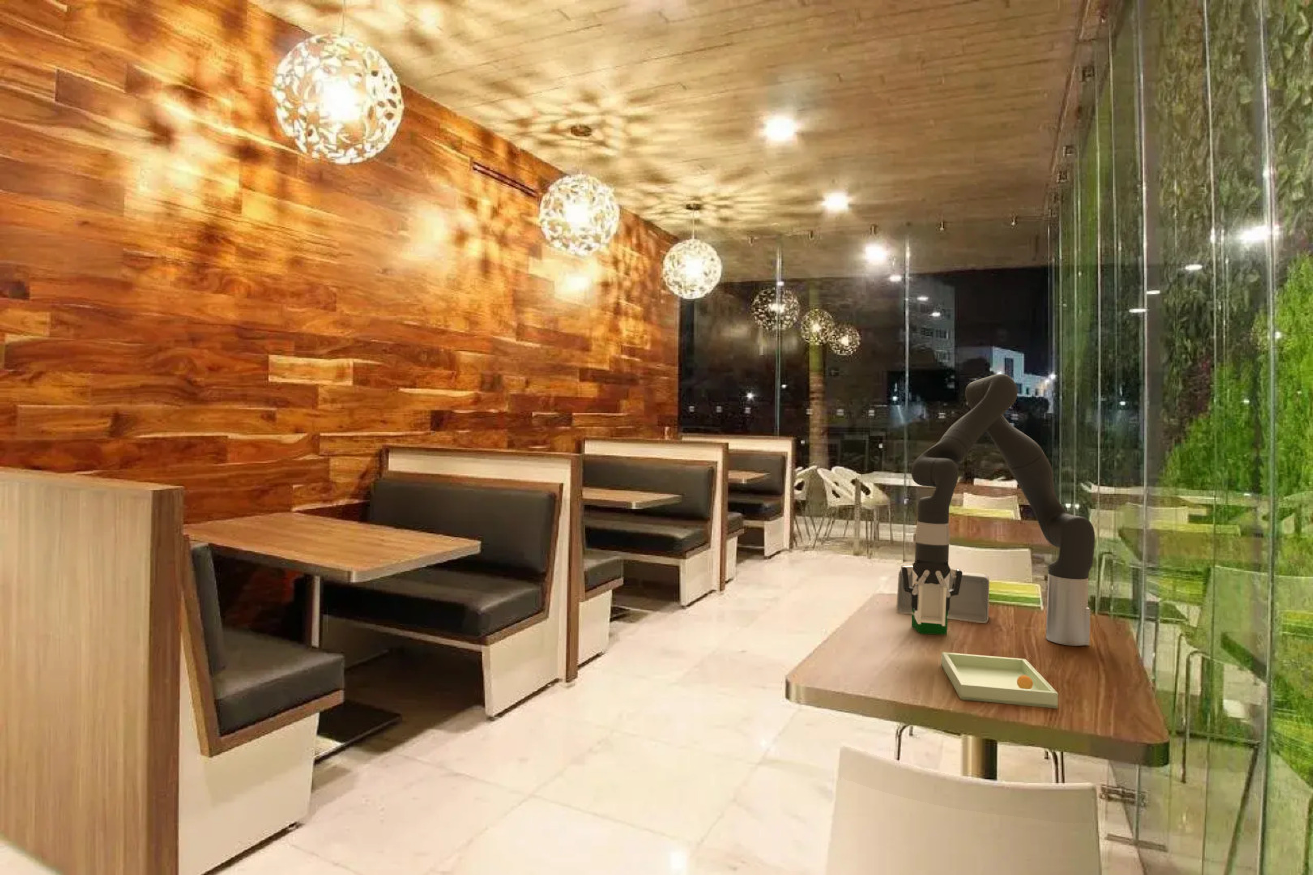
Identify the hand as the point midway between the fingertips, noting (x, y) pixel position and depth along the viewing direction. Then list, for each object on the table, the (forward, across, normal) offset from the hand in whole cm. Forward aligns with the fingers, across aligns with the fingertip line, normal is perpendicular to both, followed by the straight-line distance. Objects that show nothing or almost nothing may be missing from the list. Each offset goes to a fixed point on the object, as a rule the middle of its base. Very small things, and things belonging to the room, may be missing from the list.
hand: (929, 610), depth 175 cm
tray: (+11, -11, +16) cm, 23 cm away
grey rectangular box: (+11, -11, -48) cm, 51 cm away
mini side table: (+3, 0, 0) cm, 3 cm away
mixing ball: (+9, -16, +19) cm, 27 cm away
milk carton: (+11, -4, -25) cm, 28 cm away
